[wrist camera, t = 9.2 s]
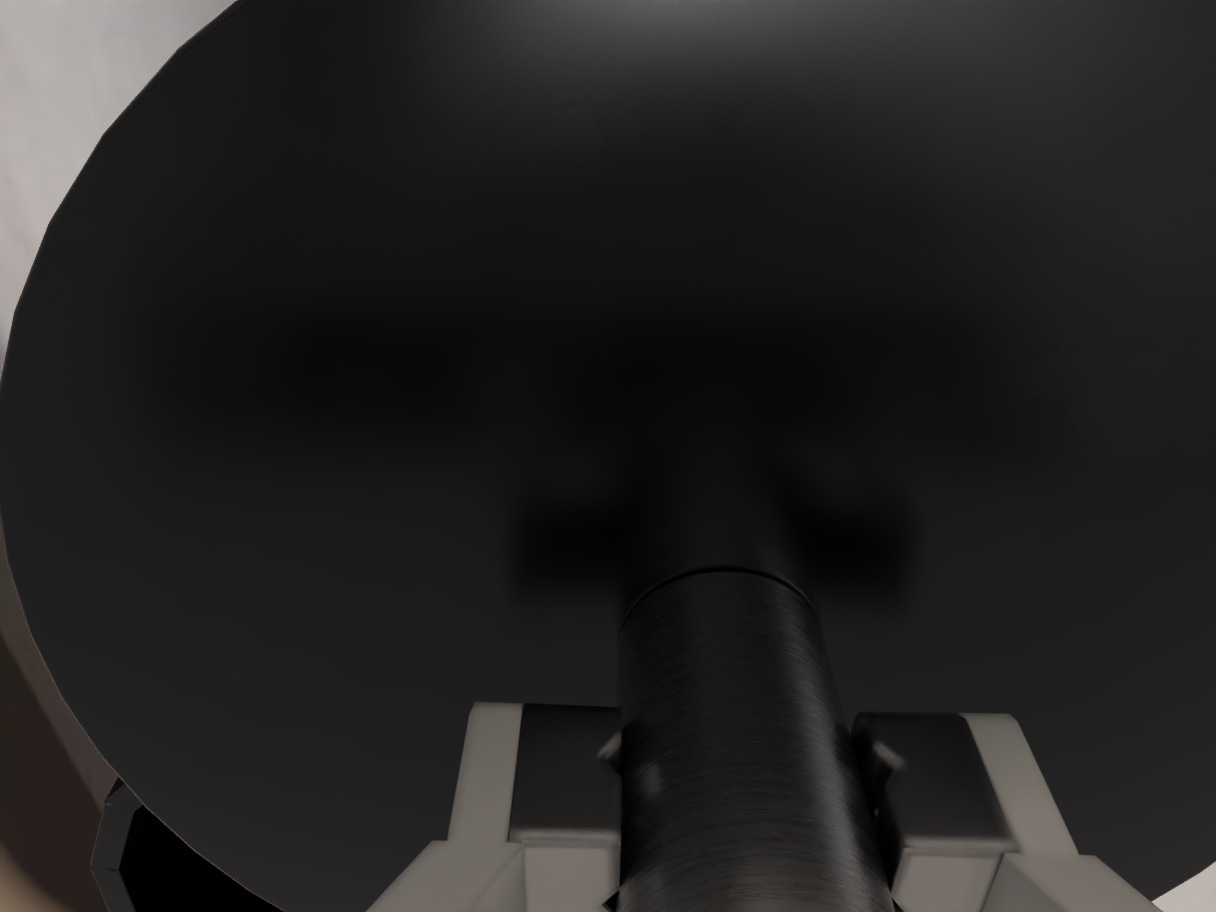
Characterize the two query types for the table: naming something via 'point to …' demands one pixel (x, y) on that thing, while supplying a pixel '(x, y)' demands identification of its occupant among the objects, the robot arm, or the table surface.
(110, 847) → the pot
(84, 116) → the table surface
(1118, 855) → the lid
